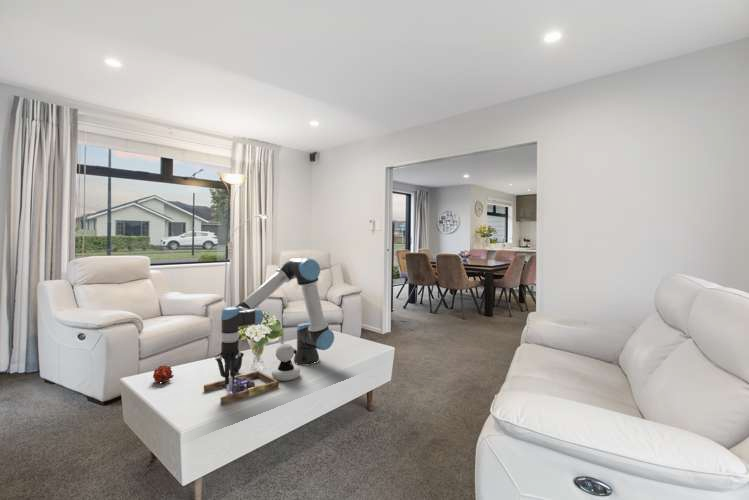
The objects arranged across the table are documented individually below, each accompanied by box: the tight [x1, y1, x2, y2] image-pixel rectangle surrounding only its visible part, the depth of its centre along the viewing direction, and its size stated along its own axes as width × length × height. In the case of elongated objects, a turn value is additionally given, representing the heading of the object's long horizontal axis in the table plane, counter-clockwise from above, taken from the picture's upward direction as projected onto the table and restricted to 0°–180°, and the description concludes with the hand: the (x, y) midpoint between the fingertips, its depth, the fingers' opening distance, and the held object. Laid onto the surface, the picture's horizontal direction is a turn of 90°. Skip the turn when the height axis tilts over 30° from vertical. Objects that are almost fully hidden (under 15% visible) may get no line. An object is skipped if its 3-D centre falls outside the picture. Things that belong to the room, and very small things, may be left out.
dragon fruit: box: [152, 365, 175, 385], centre depth 178 cm, size 8×8×12 cm
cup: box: [229, 357, 243, 371], centre depth 191 cm, size 8×7×8 cm
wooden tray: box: [203, 370, 280, 406], centre depth 170 cm, size 28×20×3 cm
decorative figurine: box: [271, 338, 301, 382], centre depth 187 cm, size 15×15×20 cm
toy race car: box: [224, 377, 256, 394], centre depth 170 cm, size 10×15×6 cm, turn 46°
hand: (229, 390), depth 166 cm, fingers closed
